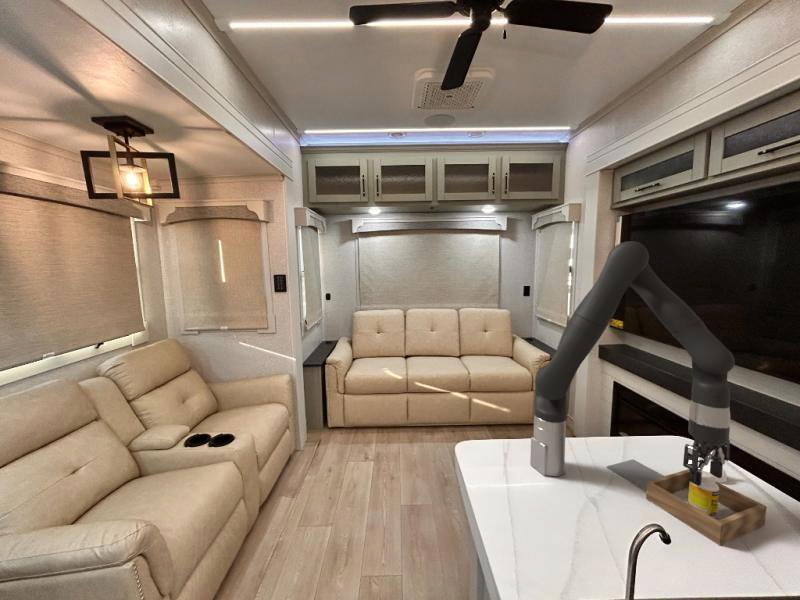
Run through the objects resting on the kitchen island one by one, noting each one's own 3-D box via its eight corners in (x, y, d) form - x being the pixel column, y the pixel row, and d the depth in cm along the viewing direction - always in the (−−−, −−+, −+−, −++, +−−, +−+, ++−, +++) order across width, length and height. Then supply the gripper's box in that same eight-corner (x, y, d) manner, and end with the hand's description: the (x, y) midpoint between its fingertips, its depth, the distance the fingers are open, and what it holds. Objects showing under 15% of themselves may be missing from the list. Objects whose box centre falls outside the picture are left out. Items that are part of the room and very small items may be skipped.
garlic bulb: (730, 487, 92) (736, 462, 91) (703, 480, 95) (708, 456, 94) (718, 475, 98) (723, 451, 97) (693, 468, 100) (698, 445, 100)
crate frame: (719, 545, 72) (721, 525, 72) (645, 498, 87) (646, 481, 87) (764, 525, 78) (766, 506, 77) (688, 484, 93) (689, 468, 92)
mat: (645, 491, 90) (645, 490, 90) (606, 467, 101) (606, 466, 101) (673, 482, 94) (674, 481, 94) (633, 460, 105) (633, 459, 105)
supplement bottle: (713, 522, 79) (716, 484, 78) (684, 509, 83) (687, 472, 82) (719, 513, 82) (722, 476, 81) (691, 500, 86) (693, 465, 86)
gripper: (708, 409, 86) (705, 466, 88) (673, 418, 82) (670, 477, 83) (745, 421, 79) (741, 482, 81) (709, 431, 75) (706, 496, 76)
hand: (705, 479), depth 82 cm, fingers open, 8 cm apart
